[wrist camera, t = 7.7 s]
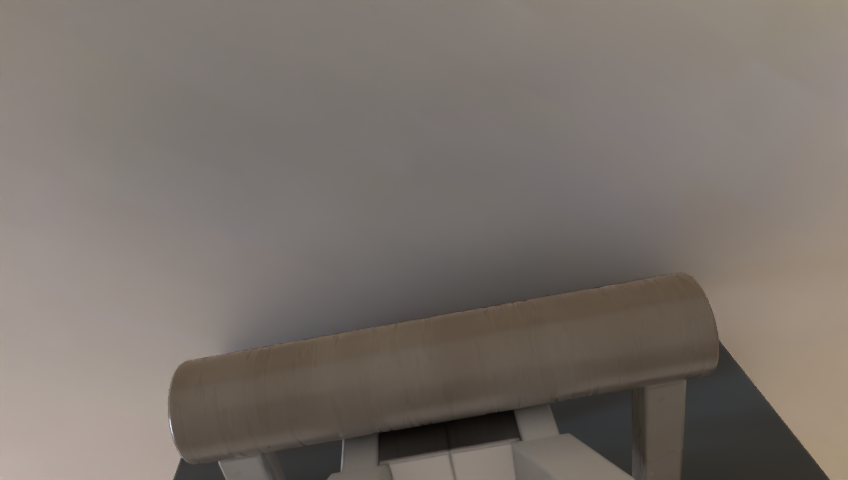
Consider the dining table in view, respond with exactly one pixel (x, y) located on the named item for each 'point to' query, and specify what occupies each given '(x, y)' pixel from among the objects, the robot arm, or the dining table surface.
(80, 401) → the dining table surface
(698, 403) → the drawer
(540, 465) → the robot arm
